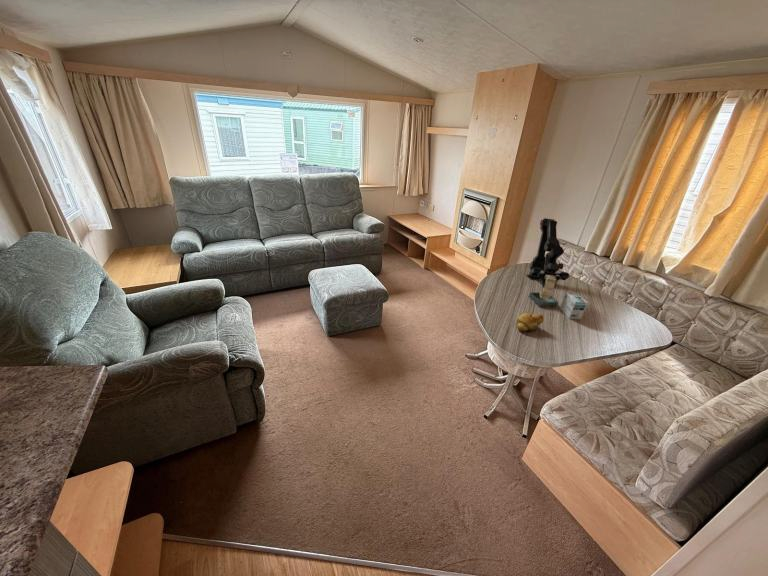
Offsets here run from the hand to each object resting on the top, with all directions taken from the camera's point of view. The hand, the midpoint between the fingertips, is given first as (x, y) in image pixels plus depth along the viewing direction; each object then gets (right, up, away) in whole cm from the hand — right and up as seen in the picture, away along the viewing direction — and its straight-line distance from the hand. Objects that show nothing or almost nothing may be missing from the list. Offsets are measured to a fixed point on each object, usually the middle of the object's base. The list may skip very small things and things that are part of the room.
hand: (548, 288), depth 173 cm
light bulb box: (+10, -14, -4) cm, 18 cm away
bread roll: (-21, -20, -18) cm, 34 cm away
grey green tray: (0, -8, +6) cm, 10 cm away
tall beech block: (0, -5, +4) cm, 7 cm away
